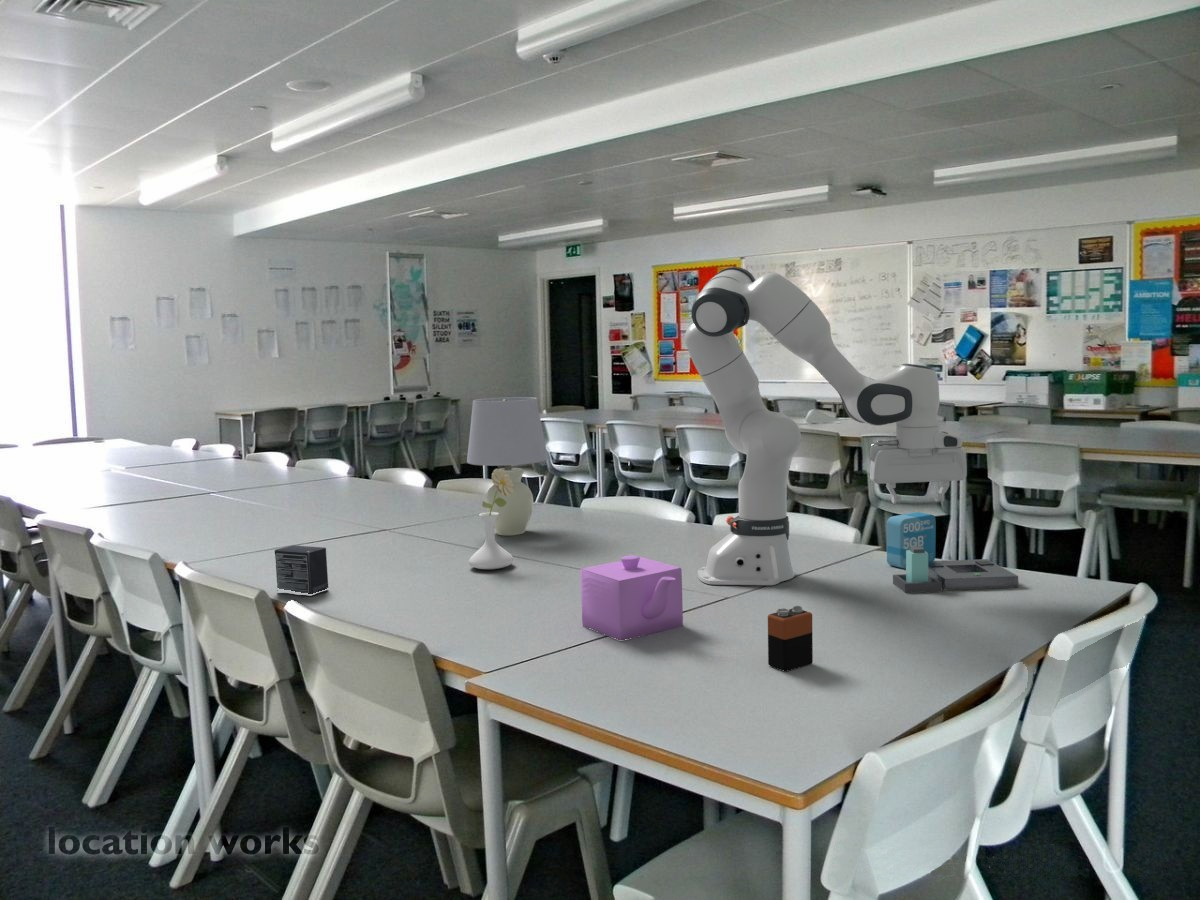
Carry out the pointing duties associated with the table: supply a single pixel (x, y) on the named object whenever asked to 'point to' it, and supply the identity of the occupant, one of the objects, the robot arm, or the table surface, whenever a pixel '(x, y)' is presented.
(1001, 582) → the panel
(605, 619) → the teapot
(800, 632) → the battery
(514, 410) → the lamp
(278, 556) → the small box
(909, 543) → the data package
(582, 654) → the table surface
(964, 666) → the table surface
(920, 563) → the aqua plug
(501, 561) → the flower in vase
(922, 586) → the tray
